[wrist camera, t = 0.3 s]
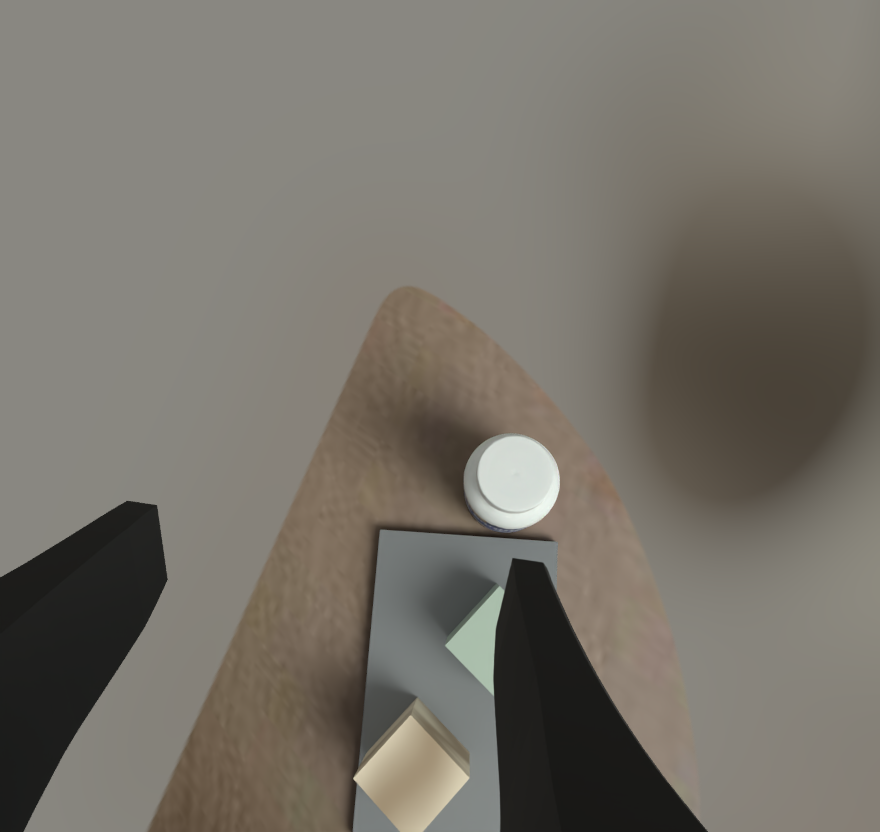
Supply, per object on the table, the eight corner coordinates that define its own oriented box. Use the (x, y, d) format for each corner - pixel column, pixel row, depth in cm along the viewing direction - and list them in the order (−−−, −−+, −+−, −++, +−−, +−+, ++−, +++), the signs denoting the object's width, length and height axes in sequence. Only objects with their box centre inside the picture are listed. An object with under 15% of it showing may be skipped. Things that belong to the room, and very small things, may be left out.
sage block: (549, 635, 38) (559, 644, 34) (500, 691, 37) (504, 706, 33) (496, 583, 39) (499, 586, 35) (447, 636, 38) (444, 645, 34)
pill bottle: (449, 507, 41) (443, 492, 31) (488, 438, 42) (494, 404, 32) (521, 549, 40) (537, 546, 31) (559, 477, 41) (586, 454, 31)
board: (547, 853, 36) (549, 860, 35) (354, 834, 37) (351, 840, 36) (555, 542, 40) (557, 541, 39) (381, 530, 41) (380, 529, 40)
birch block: (469, 752, 37) (469, 778, 32) (418, 810, 36) (411, 844, 32) (417, 696, 38) (410, 714, 33) (366, 752, 37) (353, 778, 33)
